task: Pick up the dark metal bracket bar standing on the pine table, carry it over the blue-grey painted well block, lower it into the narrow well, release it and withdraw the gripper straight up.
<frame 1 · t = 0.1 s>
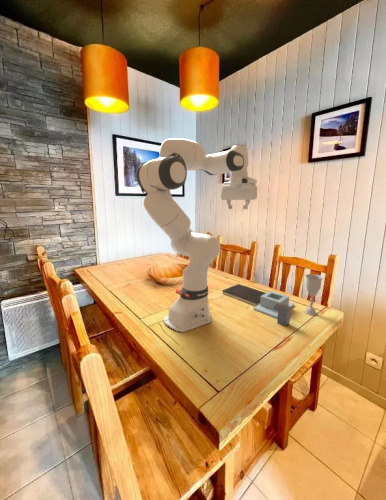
hand: (237, 209, 116), 48 cm above the table, fingers open, 8 cm apart
chalice: (310, 313, 107), on the table
hardcover book: (246, 296, 127), on the table
bracket: (283, 323, 98), on the table
well: (274, 307, 112), on the table
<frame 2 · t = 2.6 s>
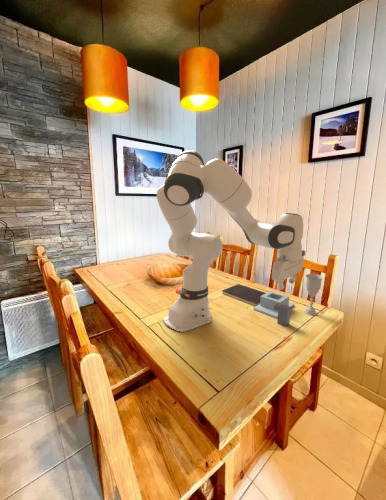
hand: (286, 286, 94), 17 cm above the table, fingers open, 8 cm apart
nothing on the table moved.
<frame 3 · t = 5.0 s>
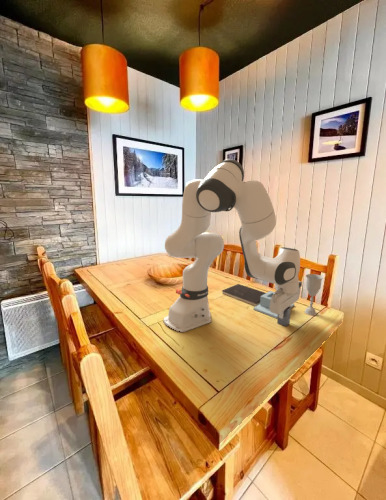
hand: (283, 315, 97), 4 cm above the table, fingers closed on bracket, 3 cm apart
bracket: (283, 323, 98), on the table, touching gripper
everything else where it was.
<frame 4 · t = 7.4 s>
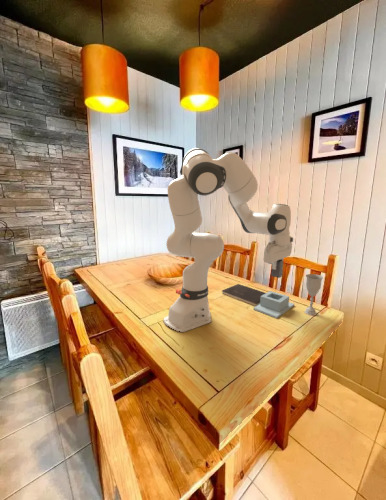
hand: (276, 268, 108), 20 cm above the table, fingers closed on bracket, 3 cm apart
bracket: (276, 276, 108), point 16 cm above the table, touching gripper
everything else where it was.
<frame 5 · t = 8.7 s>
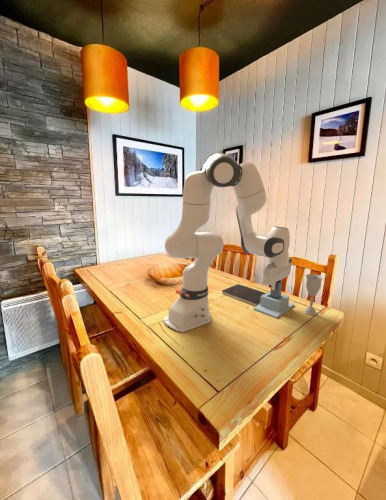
hand: (276, 288, 109), 10 cm above the table, fingers closed on bracket, 3 cm apart
bracket: (275, 296, 110), point 6 cm above the table, touching gripper
everything else where it was.
when the fingers open (7 cm above the table, at t = 10.0 s): bracket drops 2 cm, resting on well.
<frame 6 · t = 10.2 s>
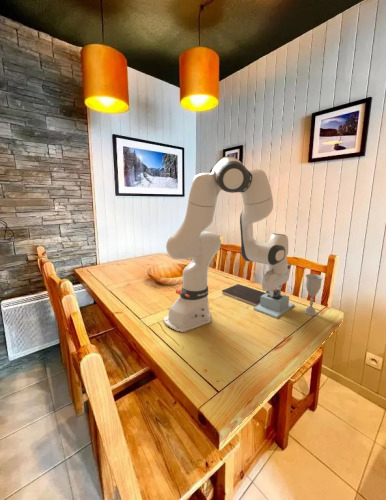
hand: (274, 294, 111), 7 cm above the table, fingers open, 5 cm apart
bracket: (274, 305, 112), point 1 cm above the table, touching well
everything else where it was.
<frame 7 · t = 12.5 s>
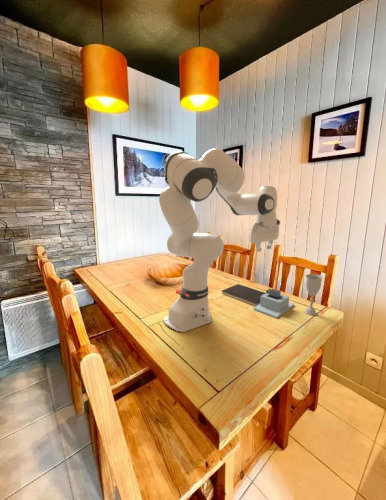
hand: (264, 250, 110), 28 cm above the table, fingers open, 8 cm apart
nothing on the table moved.
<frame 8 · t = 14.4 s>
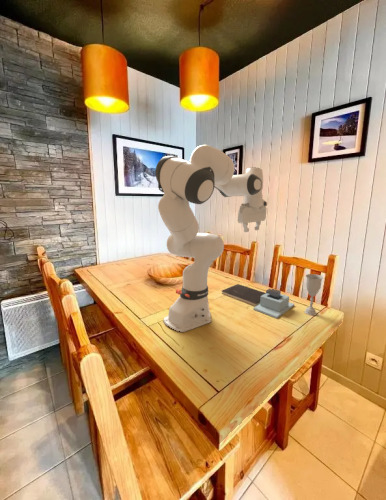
hand: (251, 231, 113), 37 cm above the table, fingers open, 8 cm apart
nothing on the table moved.
at the end: bracket 0.0 cm off-centre on the well, point 1.0 cm above the well's base; bracket tilted 0°; the gripper is holding nothing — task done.
